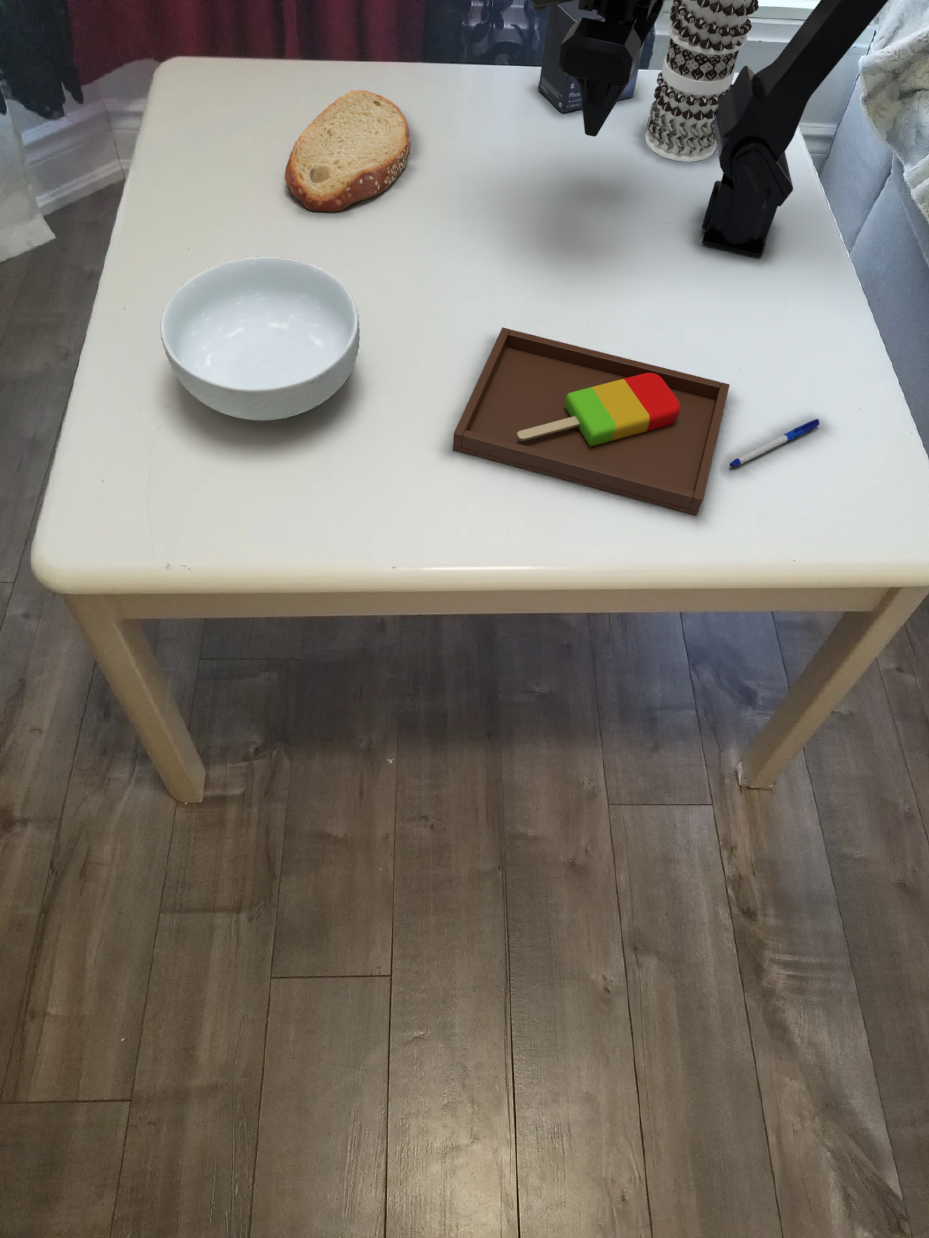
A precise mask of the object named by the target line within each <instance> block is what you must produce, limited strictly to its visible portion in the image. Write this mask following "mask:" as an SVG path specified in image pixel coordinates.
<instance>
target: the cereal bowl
mask: <svg viewBox="0 0 929 1238" xmlns="http://www.w3.org/2000/svg"><path fill="white" fill-rule="evenodd" d="M359 317H360V315H359V313H358V308H357V305H356V302H355V300H354V297H353V295H352V294H351V292H350V291H349V290H348V288H347V287H346V286H345V285H344V283H343V282H342V281H340V280H339V278H337V277H336V276H334V275H333V274H331V273H330V272H328V271H327V270H325V269H323V268H322V267H319V266H317V265H314V264H312V263H309V262H306V261H302V260H299V259H294V258H289V257H282V256H252V257H250V256H249V257H244V258H238V259H234V260H230V261H225V262H223V263H219V264H216V265H214V266H211V267H208V268H206V269H204V270H202V271H200V272H198V273H197V274H195V275H194V276H192V277H191V278H189V279H188V280H186V281H185V282H184V283H183V284H181V285H180V286H179V288H177V289H176V290H175V291H174V293H172V295H171V296H170V298H169V299H168V301H167V303H166V304H165V307H164V309H163V310H162V316H161V319H160V339H161V341H162V347H163V349H164V351H165V355H166V357H167V360H168V363H169V365H170V366H171V369H172V371H173V373H174V374H175V377H176V378H177V379H178V381H179V382H180V383H181V385H182V386H183V387H184V388H185V389H186V390H187V391H188V392H189V394H191V395H192V396H193V397H194V398H196V399H197V400H198V401H199V402H201V403H202V404H204V405H205V406H208V407H209V408H210V409H212V410H214V411H217V412H218V413H220V414H223V415H226V416H231V417H233V418H237V419H242V420H248V421H250V420H252V421H264V422H265V421H272V420H273V421H276V420H281V419H287V418H291V417H295V416H298V415H300V414H304V413H306V412H308V411H310V410H313V409H314V408H316V407H318V406H320V405H322V404H323V403H324V402H325V401H327V400H328V399H330V398H331V397H332V396H333V395H335V394H336V393H337V391H338V390H339V389H341V388H342V386H343V385H344V384H345V382H347V380H348V378H349V377H350V375H351V373H352V371H353V369H354V368H355V367H354V366H355V363H356V361H357V357H358V354H359V353H358V352H359V349H360V339H361V337H360V333H361V329H360V319H359Z"/></svg>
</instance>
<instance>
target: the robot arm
mask: <svg viewBox="0 0 929 1238" xmlns="http://www.w3.org/2000/svg"><path fill="white" fill-rule="evenodd" d="M571 1H574V0H530V3H531V7H532V10H533V11H535V12H536V11H537V12H538V11H539V12H540V11H544V10H546V9H547V7H549V6H552V5H556V4H561V3H566V2H571ZM665 1H666V0H579V5H578V9H580V10H585V11H590V12H591V11H592V10H597V15H598V16H601V17H604V19H605V21H599V20H594V19H589V18H584V17H582V18H581V19H580V20H579V21H577V22H576V23H575V24H574V25H572V26H571V28H570V29H569V31H568V33H567V35H566V37H565V38H564V40H563V42H562V44H561V50H560V58H559V66H558V68H560V69H561V70H562V71H563V72H565V73H566V74H567V75H569V76H571V77H574V78H575V79H576V81H577V82H578V83H579V87H580V93H581V102H582V108H581V111H582V119H583V129H584V134H585V135H586V136H589V137H594V138H595V137H597V136H598V134H599V132H600V131H601V129H602V128H603V126H604V124H605V122H606V121H607V119H608V117H609V115H611V112H612V110H613V109H614V107H615V106H616V104H617V103H618V101H619V100H618V99H619V97H620V96H621V94H622V93H623V91H624V89H625V88H626V86H627V85H628V83H629V81H630V79H631V77H632V75H633V72H634V70H635V66H636V62H637V58H638V54H639V50H640V48H641V46H642V44H643V43H644V44H645V41H646V39H647V37H648V36H649V34H650V32H651V30H652V29H653V27H654V25H655V23H656V22H657V20H658V18H659V15H660V13H661V11H662V9H663V6H664V4H665ZM888 2H889V0H820V1H818V3H817V5H816V6H815V7H814V8H813V10H812V11H811V12H810V14H809V15H808V17H807V18H806V19H805V20H804V22H802V24H801V26H800V27H799V28H798V30H797V31H796V33H795V34H794V35H793V36H792V38H791V39H790V40H789V41H788V43H787V44H786V46H785V47H784V48H783V50H782V51H781V52H780V54H779V55H778V57H776V58H775V60H774V61H773V62H772V63H770V64H769V65H767V66H766V67H764V68H762V69H761V70H759V71H757V72H754V71H753V70H752V69H751V68H750V67H749V66H748V65H744V66H743V67H742V68H741V69H740V71H739V72H738V74H737V76H736V78H735V79H734V82H733V83H732V87H731V88H730V89H729V90H728V91H727V92H726V94H724V95H723V96H721V97H720V98H719V99H718V107H719V110H718V112H717V114H716V116H715V120H714V128H715V136H716V145H717V146H716V149H717V155H718V162H719V167H720V169H721V171H722V177H721V180H715V181H714V182H713V183H714V184H713V187H712V190H711V192H710V196H709V200H708V204H707V206H706V211H705V213H704V217H703V220H702V224H701V229H702V230H703V231H704V233H703V236H702V240H701V244H702V245H703V246H706V247H710V248H715V249H719V250H724V251H726V252H727V251H728V252H732V253H735V254H739V255H740V254H741V255H745V256H750V257H753V258H758V259H759V258H762V257H763V255H764V252H765V248H766V244H767V240H768V236H769V233H770V231H771V227H772V223H773V221H774V218H775V216H776V213H777V210H778V207H781V206H782V205H784V203H785V202H786V200H787V199H789V197H790V196H791V194H792V193H793V191H794V185H793V181H792V177H791V176H792V175H791V173H790V172H791V171H790V168H789V163H788V160H787V154H786V150H787V149H788V147H789V146H790V144H791V142H792V140H793V139H794V137H795V135H796V132H797V130H798V127H799V124H800V122H801V119H802V118H803V115H804V112H805V109H806V107H807V104H808V102H809V101H810V99H811V97H812V96H813V94H814V93H815V92H816V91H817V89H818V88H819V87H820V86H821V85H822V84H823V82H824V81H825V80H826V78H827V77H828V76H829V75H830V74H831V73H832V71H833V70H834V68H836V67H837V65H838V63H840V61H841V60H842V58H843V57H844V56H845V55H846V54H847V53H848V52H849V50H850V49H851V48H852V46H853V45H854V44H855V43H856V41H857V40H858V39H859V38H860V37H861V35H862V34H863V33H864V32H865V30H866V29H867V28H868V26H869V25H871V23H872V21H874V19H875V18H876V17H877V16H878V14H879V13H880V12H881V10H883V8H884V7H885V5H886V4H887V3H888Z"/></svg>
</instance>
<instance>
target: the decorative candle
mask: <svg viewBox="0 0 929 1238" xmlns="http://www.w3.org/2000/svg"><path fill="white" fill-rule="evenodd" d="M759 8H760V5H759V0H672V5H671V8H670V14H669V20H670V23H669V24H668V28H667V30H668V36H669V42H668V46H667V53H666V55H665V56H664V58H663V62H662V67H661V71H660V72H659V73H658V74H657V77H656V84H657V86H656V87H655V89H654V92H653V98H654V99H655V100H654V101H652V103H651V105H650V109H649V117H648V119H647V123H646V128H647V130H646V132H645V134H644V138H645V144H646V146H648V148H649V149H650V150H651V151H652V152H654V153H655V154H657V155H659V156H660V157H662V158H665V159H668V160H672V161H675V162H685V163H692V162H699V161H703V160H705V159H707V158H709V157H711V156H712V155H713V154H714V152H715V150H716V149H717V143H716V136H715V128H714V120H715V116H716V114H717V112H718V110H719V107H718V99H719V98H720V97H721V96H723V95H724V94H726V92H727V91H728V90H729V89H730V88H731V87H732V85H733V80H734V76H735V74H736V66H735V65H736V62H737V60H738V56H739V52H740V50H741V49H743V48H744V46H745V44H746V43H747V40H748V35H747V34H748V33H749V32H750V31H751V30H752V27H753V25H752V21H751V20H750V19H749V18H748V17H749V16H751V15H753V14H754V13H755V12H757V11H758V10H759Z"/></svg>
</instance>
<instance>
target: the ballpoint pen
mask: <svg viewBox="0 0 929 1238" xmlns="http://www.w3.org/2000/svg"><path fill="white" fill-rule="evenodd" d="M819 425H820V419H819V418H816V419H813V420H811V421H808V422H806V423H803V424H801V425H800V426H798V427H795V428H793V429H792V430H790V431H788V432H785V433H784V434H783V435H781V436H778V437H777V438H775V439H773V440H771V441H769V442H766V443H765V444H763V445H761V446H759V447H757V448H755V449H752V450H750V451H748V452H747V453H744V454H742V455H741V456H739V457H737V458H735V459H734V460H732V461H731V462H730V463H729V467H730V468H733V467H737V466H740V465H742V464H744V463H746V462H749V461H750V460H752V459H755V458H757V457H759V456H760V455H763V454H765V453H766V452H769V451H771V450H773V449H775V448H776V447H779V446H781V445H783V444H785V443H788V442H790V441H792V440H795V439H797V438H798V437H800V436H802V435H805V434H806V433H808V432H810V431H812V430H814V429H815V428H817V427H818V426H819Z"/></svg>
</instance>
